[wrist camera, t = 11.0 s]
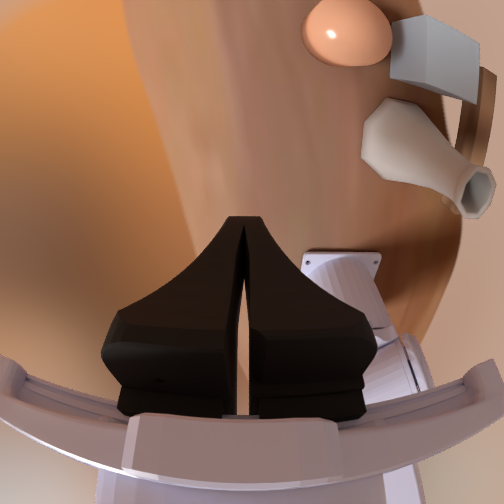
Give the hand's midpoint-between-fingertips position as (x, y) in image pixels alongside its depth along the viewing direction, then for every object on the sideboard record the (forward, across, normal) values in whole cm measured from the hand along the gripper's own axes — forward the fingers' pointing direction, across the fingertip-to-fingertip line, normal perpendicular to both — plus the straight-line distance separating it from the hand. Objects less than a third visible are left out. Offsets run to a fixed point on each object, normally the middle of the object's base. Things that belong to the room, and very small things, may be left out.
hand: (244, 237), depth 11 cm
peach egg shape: (+10, -6, -10) cm, 16 cm away
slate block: (+10, -13, -10) cm, 20 cm away
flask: (+11, -12, -3) cm, 16 cm away
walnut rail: (+10, -20, -5) cm, 23 cm away
